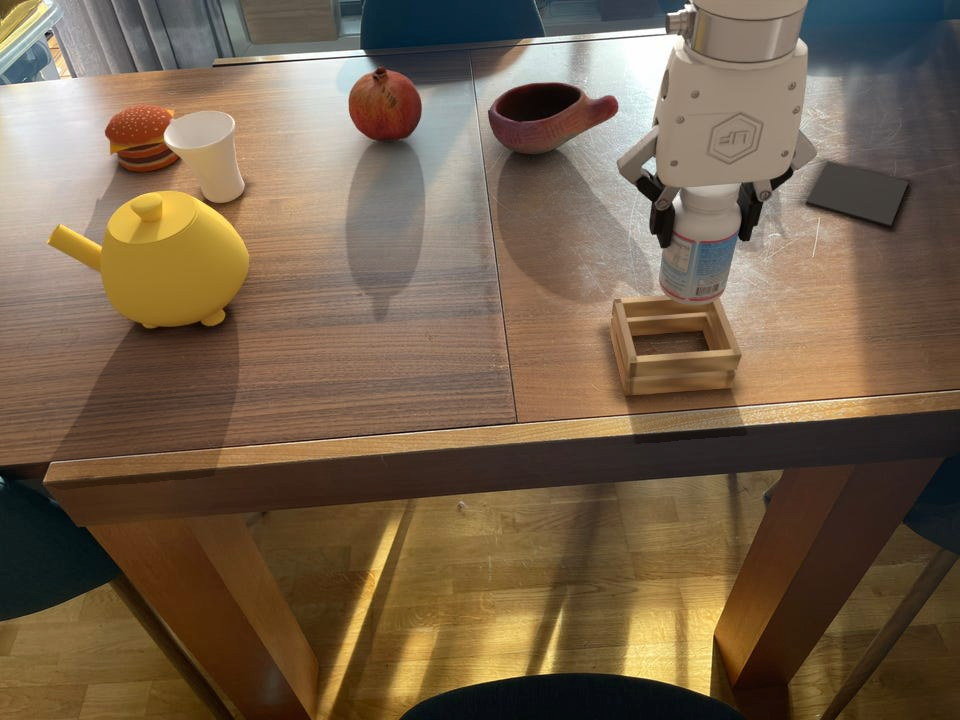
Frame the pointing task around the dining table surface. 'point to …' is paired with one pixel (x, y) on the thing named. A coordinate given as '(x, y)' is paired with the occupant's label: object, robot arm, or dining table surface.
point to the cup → (208, 152)
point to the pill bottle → (701, 244)
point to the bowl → (546, 116)
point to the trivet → (858, 193)
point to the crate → (678, 367)
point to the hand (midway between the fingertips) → (700, 233)
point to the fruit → (385, 105)
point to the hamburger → (141, 138)
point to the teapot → (164, 260)
